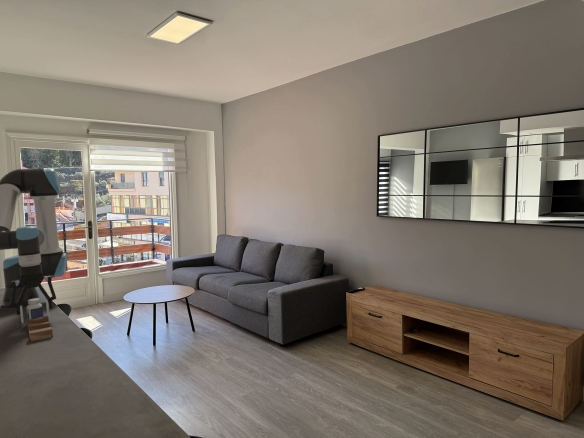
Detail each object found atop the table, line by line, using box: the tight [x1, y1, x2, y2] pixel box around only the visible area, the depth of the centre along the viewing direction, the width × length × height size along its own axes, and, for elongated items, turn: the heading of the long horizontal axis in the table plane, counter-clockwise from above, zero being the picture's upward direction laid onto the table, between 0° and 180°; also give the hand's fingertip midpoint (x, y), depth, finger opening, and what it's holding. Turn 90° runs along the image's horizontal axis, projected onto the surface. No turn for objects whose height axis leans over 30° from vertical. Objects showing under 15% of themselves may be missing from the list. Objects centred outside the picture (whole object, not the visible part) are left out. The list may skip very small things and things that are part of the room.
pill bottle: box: [26, 297, 44, 320], centre depth 165 cm, size 5×5×10 cm
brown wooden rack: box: [27, 315, 54, 343], centre depth 154 cm, size 20×7×3 cm, turn 35°
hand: (35, 319), depth 165 cm, fingers open, 8 cm apart
